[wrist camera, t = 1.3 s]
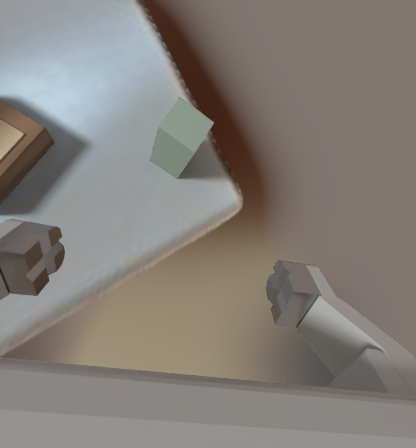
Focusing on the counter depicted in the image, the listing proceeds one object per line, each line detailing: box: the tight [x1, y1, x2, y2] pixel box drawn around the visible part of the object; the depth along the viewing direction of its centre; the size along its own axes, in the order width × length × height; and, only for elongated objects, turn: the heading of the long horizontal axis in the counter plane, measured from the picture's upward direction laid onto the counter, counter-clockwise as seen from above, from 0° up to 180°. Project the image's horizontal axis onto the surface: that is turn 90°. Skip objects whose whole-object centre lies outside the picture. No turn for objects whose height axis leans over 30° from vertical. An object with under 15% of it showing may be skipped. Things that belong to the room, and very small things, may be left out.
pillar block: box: [150, 97, 214, 178], centre depth 32 cm, size 5×5×10 cm
